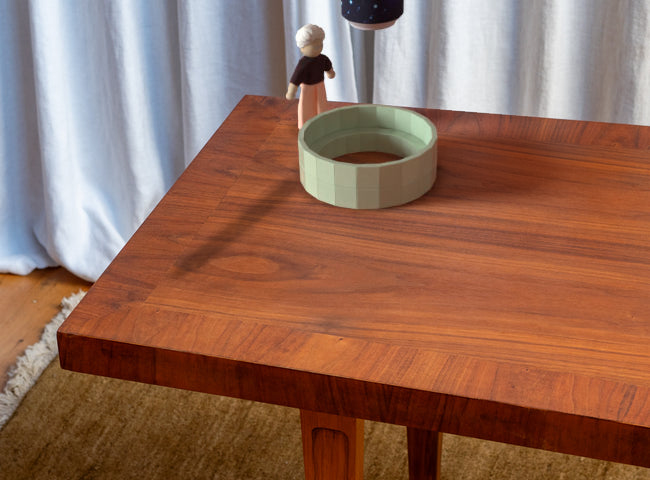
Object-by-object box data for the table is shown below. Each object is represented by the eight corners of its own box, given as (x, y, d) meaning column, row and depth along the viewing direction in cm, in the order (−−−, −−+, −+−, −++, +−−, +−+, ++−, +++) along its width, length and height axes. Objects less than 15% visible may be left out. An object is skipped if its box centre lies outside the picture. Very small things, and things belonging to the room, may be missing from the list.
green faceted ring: (430, 148, 99) (432, 102, 96) (439, 214, 88) (442, 165, 84) (304, 151, 100) (302, 105, 96) (297, 217, 89) (294, 168, 85)
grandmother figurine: (313, 148, 100) (307, 38, 92) (284, 141, 102) (276, 33, 94) (346, 121, 105) (343, 15, 97) (318, 115, 107) (313, 10, 99)
